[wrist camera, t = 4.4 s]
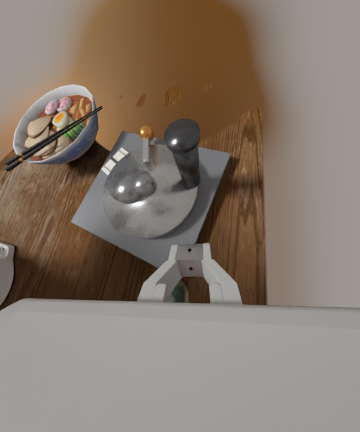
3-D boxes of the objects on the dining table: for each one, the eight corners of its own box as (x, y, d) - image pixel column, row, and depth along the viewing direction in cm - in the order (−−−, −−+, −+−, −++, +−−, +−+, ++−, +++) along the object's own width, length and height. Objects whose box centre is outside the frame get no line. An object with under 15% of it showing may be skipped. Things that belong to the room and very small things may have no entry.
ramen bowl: (106, 99, 40) (82, 63, 32) (130, 149, 33) (106, 119, 25) (40, 140, 42) (2, 115, 34) (50, 196, 35) (5, 181, 27)
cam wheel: (105, 241, 25) (25, 236, 14) (114, 145, 31) (63, 88, 20) (208, 234, 22) (209, 219, 11) (196, 127, 28) (190, 46, 17)
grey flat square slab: (79, 223, 31) (67, 221, 28) (127, 137, 34) (120, 128, 32) (182, 277, 23) (179, 280, 21) (228, 160, 27) (231, 150, 24)
